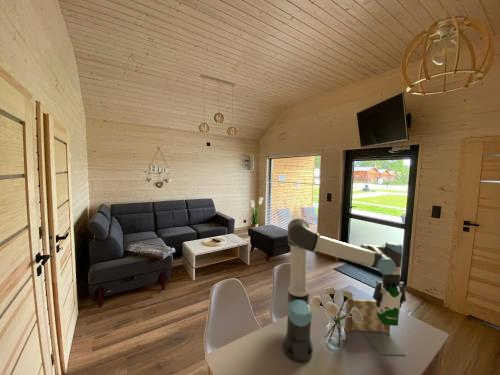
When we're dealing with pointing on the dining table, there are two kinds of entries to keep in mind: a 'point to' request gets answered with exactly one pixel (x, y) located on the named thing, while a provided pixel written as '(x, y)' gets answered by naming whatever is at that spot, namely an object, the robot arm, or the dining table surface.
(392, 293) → the soya milk
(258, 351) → the dining table surface
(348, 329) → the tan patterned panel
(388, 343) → the keeper pad
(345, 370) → the dining table surface
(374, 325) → the door
